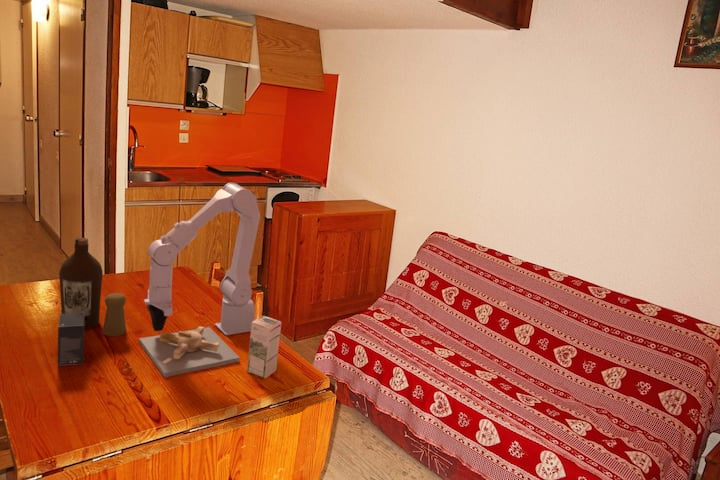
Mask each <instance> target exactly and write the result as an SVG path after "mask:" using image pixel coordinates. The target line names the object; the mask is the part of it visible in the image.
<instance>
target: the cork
mask: <svg viewBox="0 0 720 480" xmlns="http://www.w3.org/2000/svg"><path fill="white" fill-rule="evenodd" d="M126 302H127V301H126V297H125V295H124V294H122V293H119V292H116V293H115V292H112V293H110V294H109V293H108V295H106V296H105V299H104V303H105V306H106V310H105V311H106V312H105V317H104V323H103V327H102V333H103V335H105V336H109V337H119V336H122V335H125V333H127V326H126V325H127V324H126V319H125V317H126V316H125V310H124V306H125V305H126Z"/></svg>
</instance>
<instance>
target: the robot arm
mask: <svg viewBox="0 0 720 480" xmlns="http://www.w3.org/2000/svg"><path fill="white" fill-rule="evenodd" d="M257 201H258V198H257V196H256V195H255V194H254V193H253V191H251V190H249V189H247V188H245V187H243V186H241V185H239V183H236V182H228V183H226V184H224V186H223V187H222V188H220V189H218V190H217V191H216V192H215V194H214V195H213V197H211V199H210V200H209V201H208V202H206V204H205V205H204V206H203V207H202V208H200V209H199V210H198V211H197V212H196V213H195V214H194V215H193V216H192V217H191V218H189V220H181V221H180V222H175V224H173V228H172V229H171V230H169V231H168V232H167V233H166V234H164V235H161V236H160V239H156V240H154V241H153V242H151V244H150V245H149V248H147V253H148V255H149V257H150V267H149V279H148V280H149V284H148V285H149V286H148V289H147V294H146V295H147V296H146V297H147V298H146V299H145V298H144V299H143V304H145V305H146V308H147V310H148V312H149V314H150V318H151V324H152V328H153V330H154V332H160V331H163V329H164V327H165V324H166V322H167V321H166V320H167V319H168V317H169V316H170V317H171V316H173V311H174V309H173V307H172V303H173V302H172V288H173V287H172V286H173V272H174V271H173V263H175V262H176V260H177V258H178V254H179V253H180V252H181V251H182V250H183V249H184V248H185V247H187V246H188V245H189V244H190V243H191V242H192V241H193V240H194V239H196V238H197V236H198V230H200V229H201V228H202V227H204V226H205V225H206V224H207V223H209V222H210V221H211V220H212V219H214V218H216V217H217V216H218V215H219V214H221V213H234V211H235V212H236V214H237V215H238V217H240V219H239V224H238V229H237V234H236V239H235V244H234V249H233V252H232V253H233V254H232V259H231V265H230V268H229V269H227V270H226V271H225V275H224V278H223V279H222V280H221V281H220V285H219V286H220V287H219V288H220V292H221V293H222V294H223V295H222V296H223V297H222V301H221V302H222V304H221V313H220V315H221V316H220V322H216V323H215V324H214V326H215V327H216V328H218V329H219V331H221V333H223V334H224V335H225V336H232V335H237V334H242V333H248V332H251V325H252V322H253V321H254V320H255V316H256V315H255V314H256V307H255V303H254V301H253V300H252V294H253V292H252V288H251V285H252V280H251V277H250V267H251V262H252V258H253V253H254V248H255V243H256V238H257V233H258V228H259V225H260V220H261V212H260V209H259V206H258V203H257Z"/></svg>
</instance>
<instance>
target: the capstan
mask: <svg viewBox="0 0 720 480" xmlns="http://www.w3.org/2000/svg"><path fill="white" fill-rule="evenodd" d="M204 328H205V327H204V326H198V327H197V328H196V330H195V329H194V330H195V331H189V330H184V331H186V332H184V331H183V330H179V331H178V332H179V334H178V335H175V334H170V333H169V332H164V331H162V332H161V333H160V334H159V335H160V341H162V342H168V343H173V344H178V348H177V349H176V350H175V351H174V358H175V359H179V358H180V357H181V356H182V355H183V354H184V353H185V352H195V351H198V350H199V349H205V350H210V351H215V352H217V351H218V350H219V343H218V342H212V341H207V340H202V339H201V337H202V335H203V334H204Z"/></svg>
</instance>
